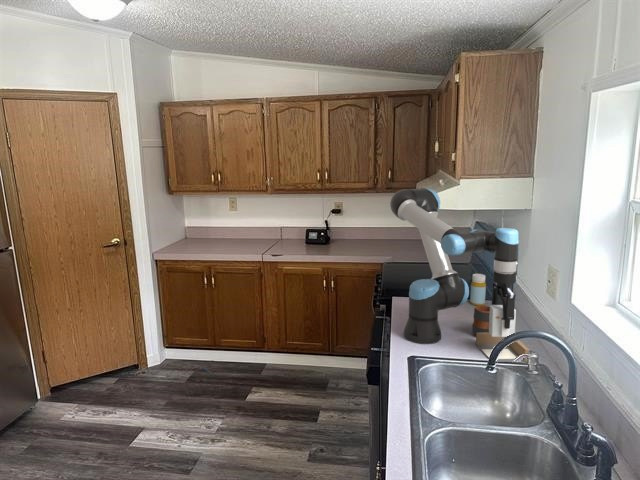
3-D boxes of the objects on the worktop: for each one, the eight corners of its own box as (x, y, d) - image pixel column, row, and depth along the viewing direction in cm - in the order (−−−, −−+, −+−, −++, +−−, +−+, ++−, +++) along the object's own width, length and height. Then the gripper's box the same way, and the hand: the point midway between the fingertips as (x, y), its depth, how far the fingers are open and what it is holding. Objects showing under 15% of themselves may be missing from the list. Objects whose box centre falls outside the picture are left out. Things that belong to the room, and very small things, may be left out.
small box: (510, 332, 159) (512, 305, 157) (514, 338, 153) (516, 310, 152) (488, 331, 160) (489, 304, 159) (491, 336, 155) (492, 309, 153)
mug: (494, 330, 182) (496, 304, 180) (493, 340, 172) (495, 313, 170) (473, 327, 186) (474, 301, 184) (471, 337, 175) (472, 310, 173)
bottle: (483, 307, 212) (484, 277, 209) (468, 304, 215) (470, 275, 212) (486, 303, 217) (487, 274, 215) (471, 300, 221) (473, 272, 218)
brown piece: (492, 363, 153) (493, 350, 152) (475, 344, 168) (476, 332, 167) (528, 362, 153) (529, 349, 152) (508, 343, 168) (509, 332, 168)
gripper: (528, 278, 143) (523, 342, 147) (503, 265, 162) (499, 322, 166) (506, 278, 143) (502, 343, 147) (483, 265, 162) (480, 323, 166)
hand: (500, 332), depth 157 cm, fingers closed on small box, 6 cm apart
